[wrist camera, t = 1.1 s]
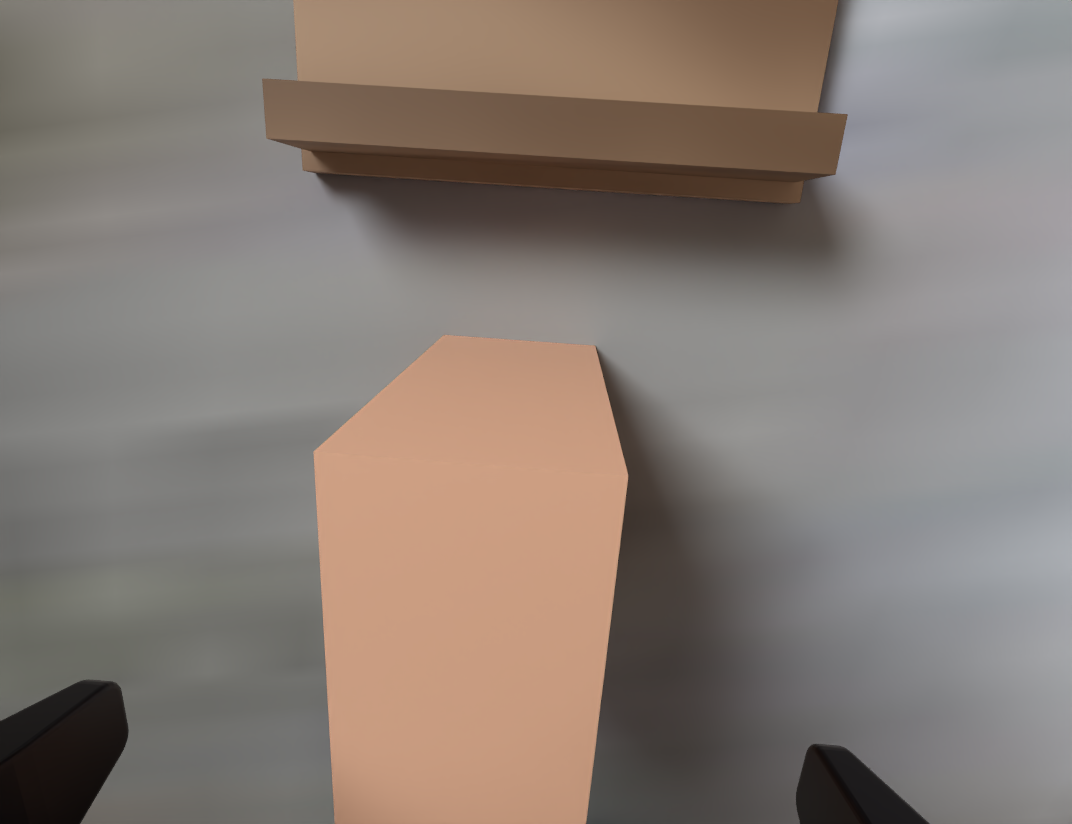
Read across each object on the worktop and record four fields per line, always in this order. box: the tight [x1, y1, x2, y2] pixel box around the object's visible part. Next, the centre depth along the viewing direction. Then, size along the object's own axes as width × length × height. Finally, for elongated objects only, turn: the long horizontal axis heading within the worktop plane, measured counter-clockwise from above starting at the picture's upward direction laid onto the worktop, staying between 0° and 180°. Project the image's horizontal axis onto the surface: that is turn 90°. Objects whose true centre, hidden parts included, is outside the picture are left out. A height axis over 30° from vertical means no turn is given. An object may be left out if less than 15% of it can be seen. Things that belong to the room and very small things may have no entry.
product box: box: [314, 335, 628, 824], centre depth 12 cm, size 7×4×8 cm, turn 176°
